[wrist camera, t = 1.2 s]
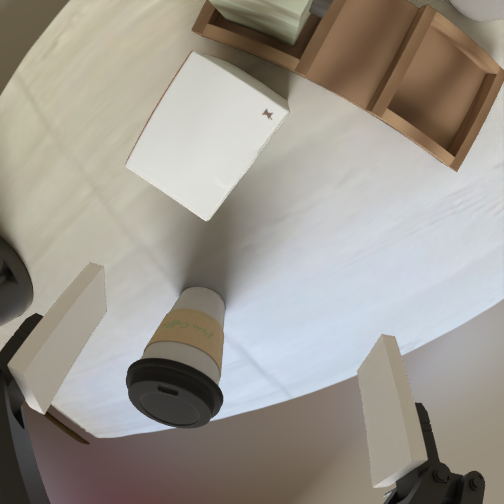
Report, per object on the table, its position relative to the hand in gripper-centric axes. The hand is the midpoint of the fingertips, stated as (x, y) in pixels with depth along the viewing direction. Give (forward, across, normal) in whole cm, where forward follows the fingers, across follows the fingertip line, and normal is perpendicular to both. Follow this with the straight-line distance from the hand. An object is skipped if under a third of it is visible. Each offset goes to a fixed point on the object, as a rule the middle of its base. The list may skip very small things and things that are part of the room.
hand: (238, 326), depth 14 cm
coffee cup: (+19, -4, -16) cm, 26 cm away
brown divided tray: (+19, +5, +17) cm, 26 cm away
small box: (+19, -4, +6) cm, 21 cm away
